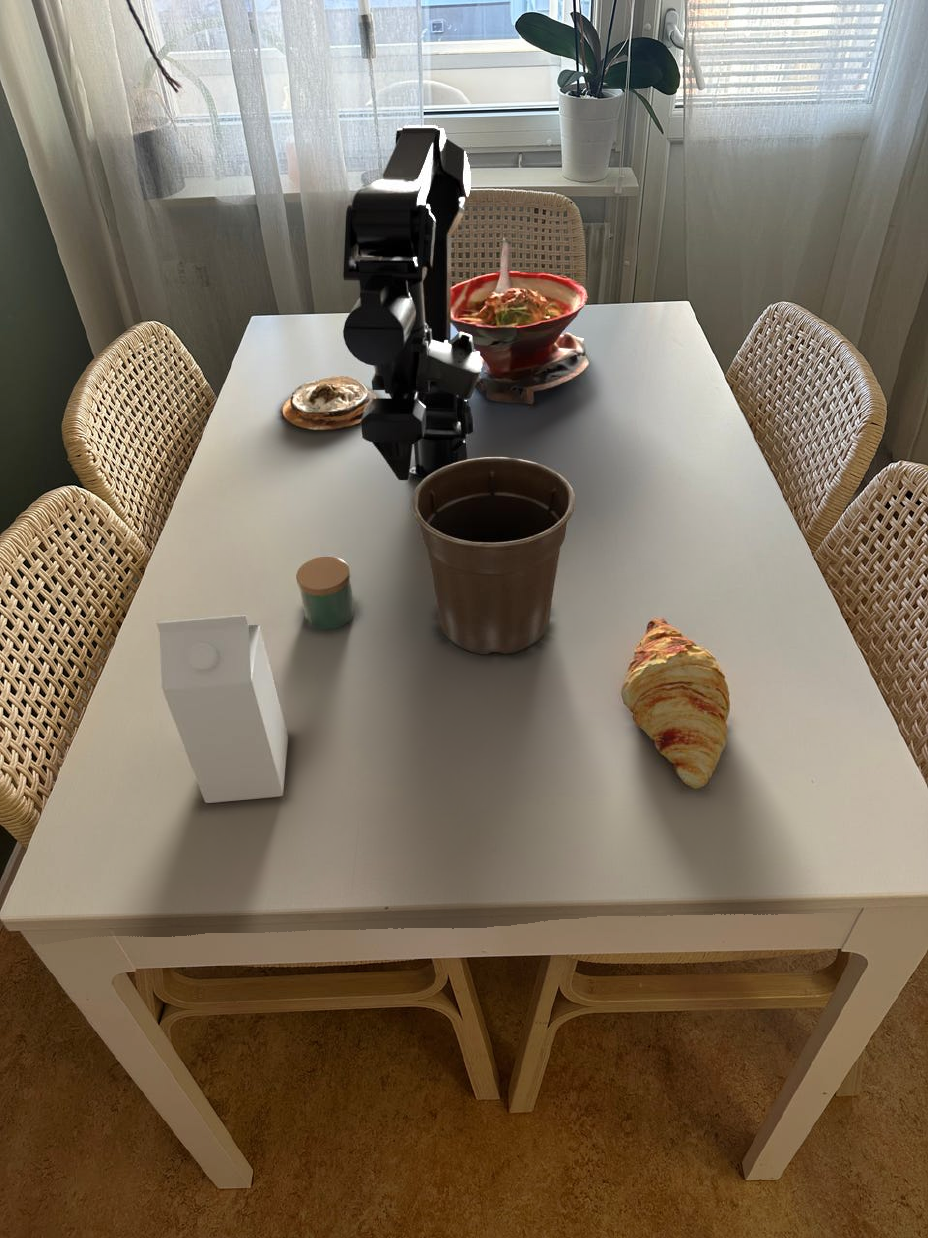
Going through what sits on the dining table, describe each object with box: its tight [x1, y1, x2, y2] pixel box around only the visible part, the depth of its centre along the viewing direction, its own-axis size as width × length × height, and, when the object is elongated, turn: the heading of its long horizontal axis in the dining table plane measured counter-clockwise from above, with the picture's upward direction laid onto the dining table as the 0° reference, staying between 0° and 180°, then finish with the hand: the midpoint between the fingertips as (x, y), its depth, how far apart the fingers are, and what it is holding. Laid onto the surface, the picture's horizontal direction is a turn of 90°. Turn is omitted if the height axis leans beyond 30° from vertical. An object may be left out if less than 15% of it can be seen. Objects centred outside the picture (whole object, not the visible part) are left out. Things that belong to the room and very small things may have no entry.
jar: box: [295, 556, 356, 630], centre depth 97 cm, size 6×6×6 cm
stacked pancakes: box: [282, 375, 378, 431], centre depth 135 cm, size 15×15×4 cm
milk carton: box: [156, 613, 289, 804], centre depth 76 cm, size 7×7×19 cm
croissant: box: [620, 617, 731, 790], centre depth 84 cm, size 21×10×8 cm, turn 2°
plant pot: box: [411, 456, 576, 656], centre depth 92 cm, size 16×16×16 cm
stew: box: [451, 238, 590, 405], centre depth 140 cm, size 28×24×16 cm
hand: (409, 458), depth 99 cm, fingers open, 9 cm apart
